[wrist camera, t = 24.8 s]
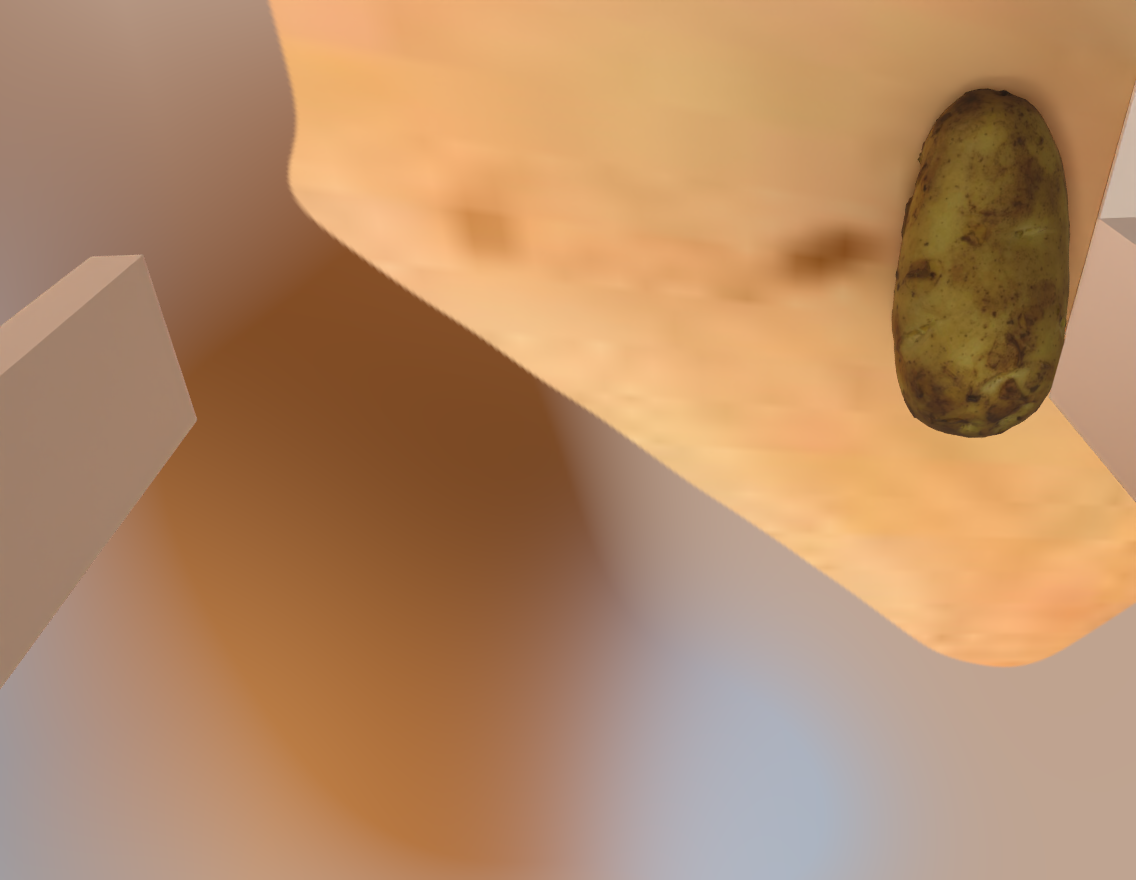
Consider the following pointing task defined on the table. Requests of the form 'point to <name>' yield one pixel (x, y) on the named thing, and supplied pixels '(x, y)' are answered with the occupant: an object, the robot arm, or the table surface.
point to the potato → (983, 269)
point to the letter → (1120, 178)
